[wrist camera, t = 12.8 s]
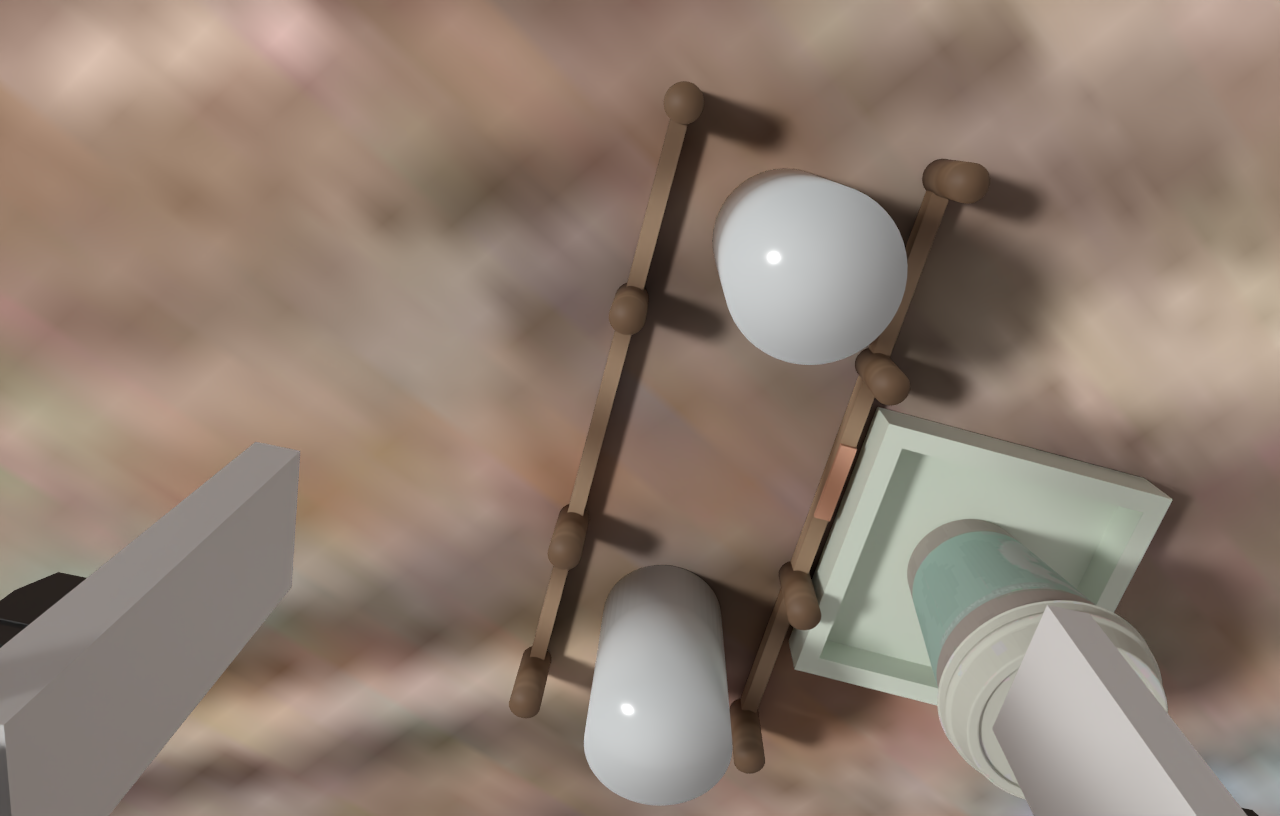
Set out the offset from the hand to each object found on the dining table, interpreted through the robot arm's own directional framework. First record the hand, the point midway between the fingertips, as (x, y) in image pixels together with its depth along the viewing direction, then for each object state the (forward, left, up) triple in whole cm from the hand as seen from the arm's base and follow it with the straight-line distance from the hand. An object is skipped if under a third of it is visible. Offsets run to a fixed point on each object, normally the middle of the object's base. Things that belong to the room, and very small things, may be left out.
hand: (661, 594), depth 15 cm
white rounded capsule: (+17, +4, -27) cm, 32 cm away
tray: (+10, +18, -27) cm, 34 cm away
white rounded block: (-4, +4, -27) cm, 27 cm away
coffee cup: (+10, +18, -26) cm, 34 cm away
